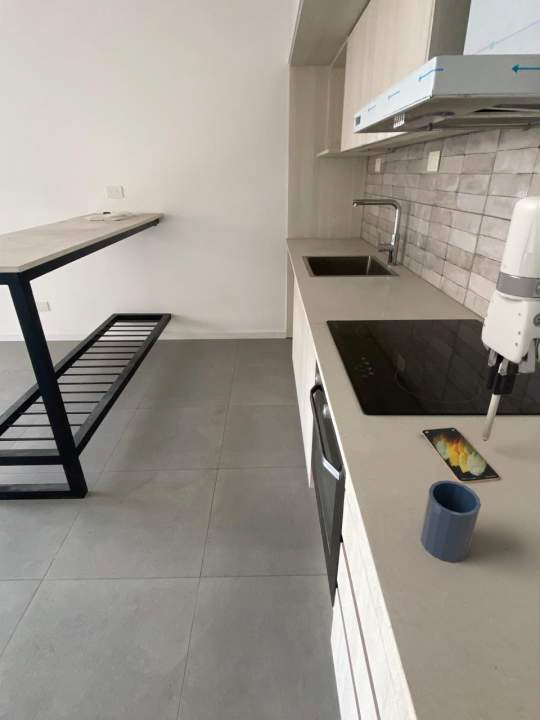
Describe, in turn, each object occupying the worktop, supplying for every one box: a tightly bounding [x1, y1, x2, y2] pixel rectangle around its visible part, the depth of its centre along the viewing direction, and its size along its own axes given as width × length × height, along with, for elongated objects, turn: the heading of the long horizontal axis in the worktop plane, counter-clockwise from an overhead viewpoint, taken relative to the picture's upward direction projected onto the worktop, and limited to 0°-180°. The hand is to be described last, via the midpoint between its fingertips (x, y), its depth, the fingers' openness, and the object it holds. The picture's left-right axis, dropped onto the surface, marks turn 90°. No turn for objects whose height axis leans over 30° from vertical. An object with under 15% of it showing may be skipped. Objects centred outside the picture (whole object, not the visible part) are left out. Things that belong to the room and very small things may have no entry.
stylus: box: [481, 363, 502, 442], centre depth 68 cm, size 1×1×16 cm
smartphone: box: [421, 427, 500, 484], centre depth 73 cm, size 7×1×15 cm
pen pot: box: [420, 479, 482, 563], centre depth 54 cm, size 6×6×9 cm
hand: (497, 390), depth 67 cm, fingers closed on stylus, 1 cm apart
